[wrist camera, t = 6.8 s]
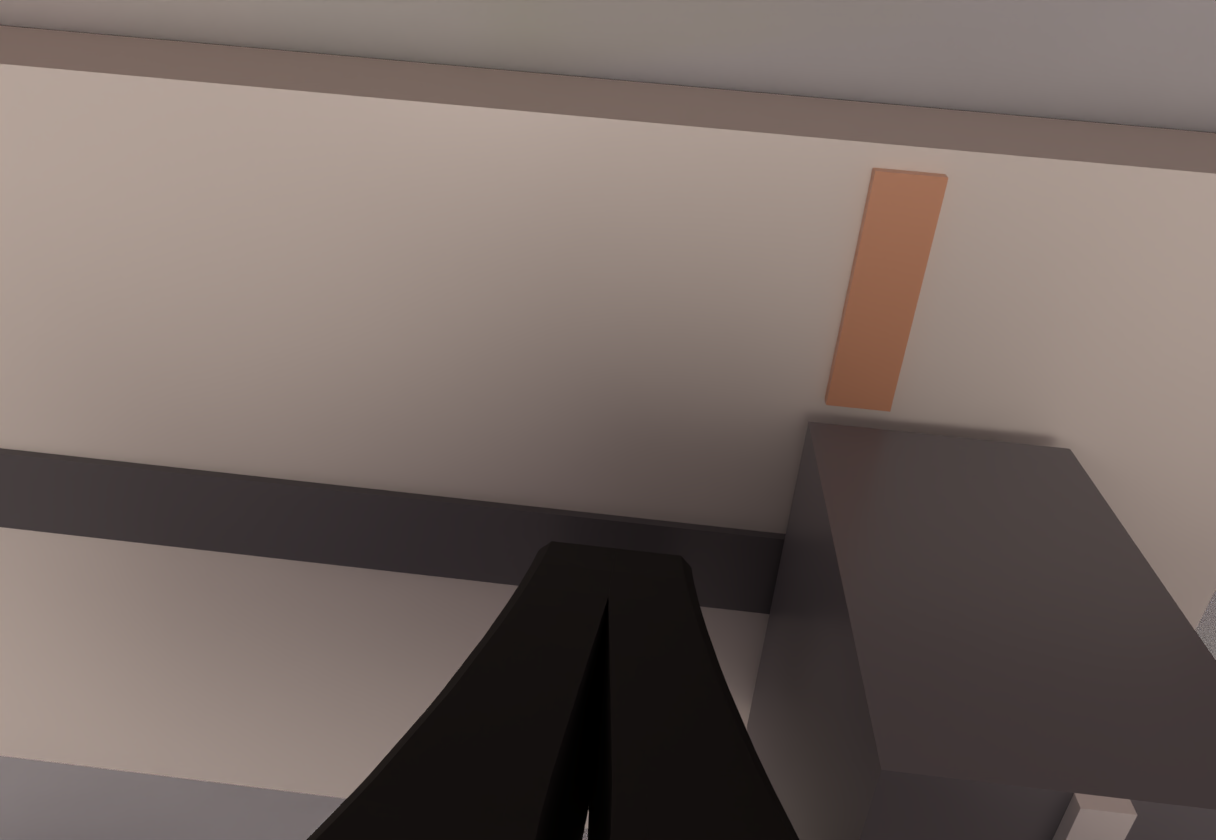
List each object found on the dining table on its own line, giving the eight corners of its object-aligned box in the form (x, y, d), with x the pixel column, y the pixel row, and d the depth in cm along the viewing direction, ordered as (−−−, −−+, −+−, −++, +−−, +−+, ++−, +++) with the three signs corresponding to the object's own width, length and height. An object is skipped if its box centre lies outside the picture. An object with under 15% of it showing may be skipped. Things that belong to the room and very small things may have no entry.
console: (1019, 762, 14) (1069, 896, 12) (-153, 623, 14) (-280, 729, 12) (1278, 139, 9) (1424, 196, 7) (-428, -12, 10) (-686, 4, 8)
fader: (958, 751, 10) (1093, 1188, 7) (746, 726, 11) (769, 1144, 7) (1071, 449, 8) (1339, 839, 5) (808, 421, 9) (883, 785, 5)
